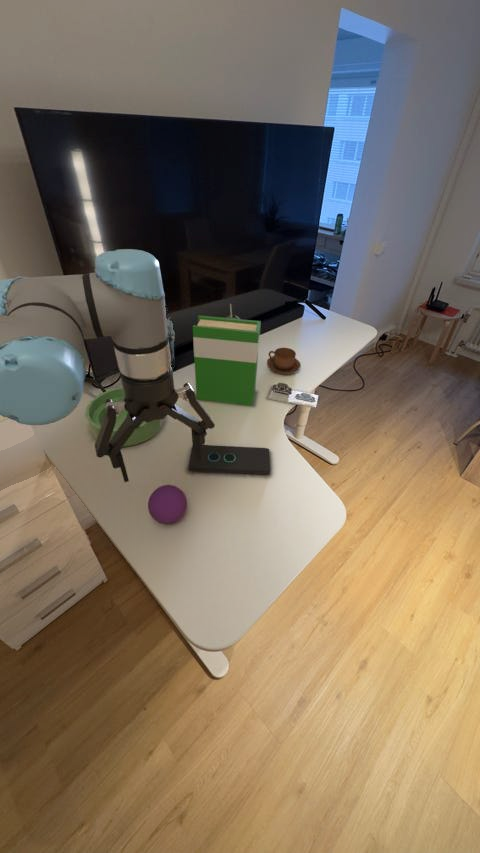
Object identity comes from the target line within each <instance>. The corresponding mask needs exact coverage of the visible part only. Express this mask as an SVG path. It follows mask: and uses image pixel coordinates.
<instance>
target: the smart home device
mask: <svg viewBox="0 0 480 853" xmlns="http://www.w3.org/2000/svg"><path fill="white" fill-rule="evenodd" d="M200 448H201V461H198V462H197V459H196V457H195V455H194V453H193V445H192V447H191V452H190V457H189V462H188V471H190V472H193V473H212V474H213V473H214V474H231V475H251V476H253V475H255V476H269V475H271V474H270V472H271V458H270V448H268V447H256V446H255V447H253V446H235V445H234V446H232V445H215V444H214V445H212V444H203V445H200Z"/></svg>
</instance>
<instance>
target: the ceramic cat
mask: <svg viewBox="0 0 480 853" xmlns="http://www.w3.org/2000/svg"><path fill="white" fill-rule="evenodd" d="M170 318H171V317H169V318H168V319H167V328H168V338H169V346H170V354H171V362H173V359H174V360H175V349H174V341H175V332H174V330H173V323H172V321H170ZM174 368H175V366H174V367H173V368H172V371H173V370H175V369H174Z"/></svg>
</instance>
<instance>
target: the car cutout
mask: <svg viewBox="0 0 480 853" xmlns="http://www.w3.org/2000/svg"><path fill="white" fill-rule="evenodd" d="M318 399H319V394H314V393H309V392H305V391H299V390H293V389H292V387H290V386H289V385H288V384H287V383H284V382H278V383H277V384H272V387H271V391H270V392H269V395H268V400H273V401H278V402H283V403H288V404H293V405H298V406H303V407H308V408H313V409H316V408H317V404H318Z"/></svg>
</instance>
